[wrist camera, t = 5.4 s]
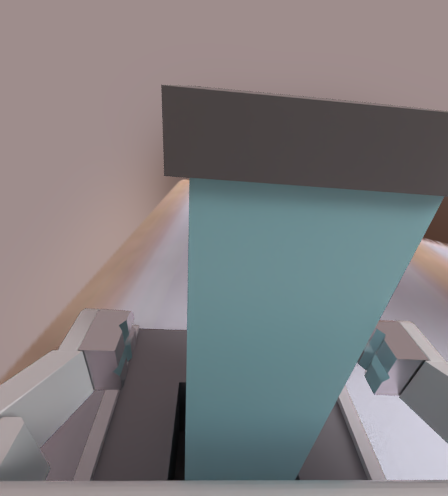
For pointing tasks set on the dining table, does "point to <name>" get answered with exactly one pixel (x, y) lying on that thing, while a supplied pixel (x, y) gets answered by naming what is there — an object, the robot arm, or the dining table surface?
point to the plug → (289, 258)
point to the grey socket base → (174, 421)
